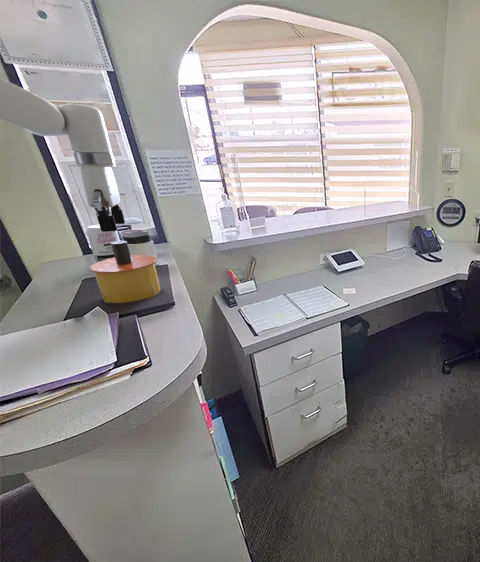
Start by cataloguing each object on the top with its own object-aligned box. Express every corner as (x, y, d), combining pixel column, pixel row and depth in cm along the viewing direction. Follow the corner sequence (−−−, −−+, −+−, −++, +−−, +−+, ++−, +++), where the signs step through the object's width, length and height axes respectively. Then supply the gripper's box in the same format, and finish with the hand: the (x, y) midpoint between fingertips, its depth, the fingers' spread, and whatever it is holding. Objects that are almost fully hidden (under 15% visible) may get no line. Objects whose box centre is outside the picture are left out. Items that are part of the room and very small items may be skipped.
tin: (97, 308, 84) (86, 275, 80) (110, 289, 95) (101, 260, 91) (157, 299, 89) (149, 269, 86) (162, 283, 101) (156, 255, 97)
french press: (149, 257, 123) (133, 193, 114) (113, 260, 119) (94, 193, 110) (156, 251, 132) (141, 190, 122) (123, 252, 128) (105, 190, 119)
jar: (126, 270, 109) (117, 237, 105) (132, 263, 116) (123, 232, 112) (156, 268, 113) (149, 236, 108) (160, 261, 120) (153, 231, 115)
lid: (83, 278, 79) (74, 252, 77) (99, 261, 92) (92, 238, 89) (153, 271, 86) (147, 246, 83) (160, 256, 98) (154, 234, 96)
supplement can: (114, 262, 117) (102, 222, 112) (132, 264, 116) (121, 224, 110) (91, 269, 110) (78, 227, 104) (111, 271, 108) (98, 229, 103)
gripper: (87, 159, 84) (105, 222, 90) (62, 160, 69) (86, 235, 76) (121, 159, 87) (136, 220, 93) (104, 161, 73) (124, 233, 79)
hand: (114, 227), depth 84 cm, fingers open, 9 cm apart
